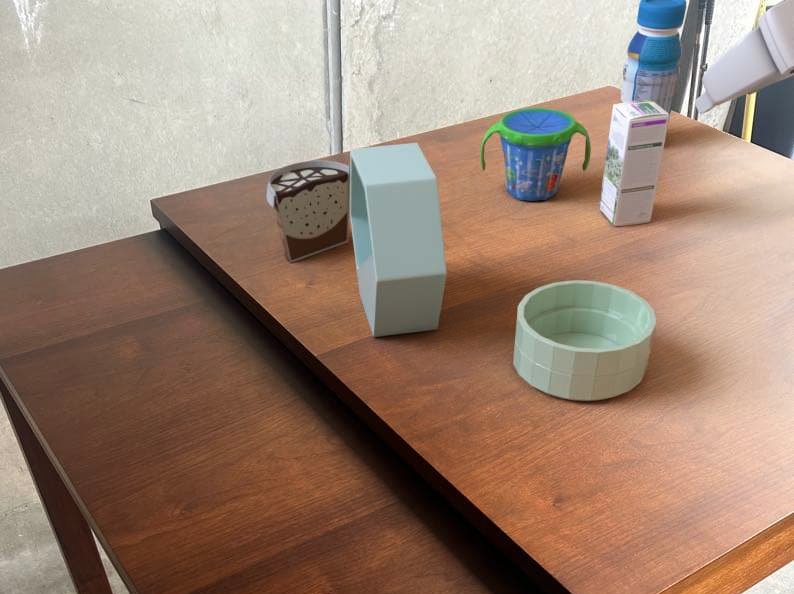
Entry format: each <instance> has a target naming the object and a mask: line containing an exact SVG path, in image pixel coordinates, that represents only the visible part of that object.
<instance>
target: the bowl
mask: <svg viewBox="0 0 794 594" xmlns="http://www.w3.org/2000/svg"><path fill="white" fill-rule="evenodd" d="M656 328H657V317H656V311H655V310H654V309H653V307H652V306H651V305H650V303H649V302H648V301H647V300H645V299H644V298H643V297H642V296H640V295H638V294H637V293H635V292H633V291H632V290H628V289H627V288H623V287H622V286H619V285H616V284H611V283H606V282H601V281H596V280H579V279H572V280H565V281H563V280H562V281H555V282H551V283H548V284H546V285H542V286H539V287H536V288H534V289H533V290H532V291H530V292H528V293H527V294H525V295H524V296H523V298H522V299H521V301H520V302H519V304H518V305H517V311H516V322H515V333H514V344H513V357H512V358H513V359H512V363H513V366H514V368H515V370H516V372H517V373H518V375H519V377H520V378H522V379H523V380H524V381H525V382H526V383H527V384H529V385H530V386H531V387H533V388H535V389H537V390H539V391H540V392H543V393H545V394H547V395H550V396H552V397H556V398H560V399H563V400H568V401H576V402H577V401H579V402H593V401H595V402H596V401H602V400H606V399H611V398H614V397H618V396H620V395H623V394H625V393H628V392H630V391H631V390H633V389H634V388H635V387H637V386H638V385H639V384H640V383H641V382H643V379H644V376H645V374H646V373H647V368H648V365H649V361H650V360H649V359H650V355H651V350H652V347H653V342H654V338H655V337H654V336H655V332H656Z"/></svg>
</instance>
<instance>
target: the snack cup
mask: <svg viewBox="0 0 794 594" xmlns="http://www.w3.org/2000/svg"><path fill="white" fill-rule="evenodd" d="M495 133H498V134H499V136H500V143H501V149H502V152H503V160H504V161H503V162H504V163H503V164H504V175H505V187H506V191H507V192H508V193H509V194H510V196H511V197H514V198H515V199H518V200H520V201H527V202H536V201H541V200H542V201H547V200H548V199H549V198H552V197H553V196H554V195H555V194H556V193H557V192H558V190H559V187H560V183H561V179H562V176H563V171H564V169H565V164H566V160H567V156H568V152H569V146H570V144H571V142H572V139H573V136H574V135H575V134H577V133H578V134H581V135H582V136H584V137H585V149H584V161H583V163H582V166H581V167H582V171H583V172H585V171H587V169H588V167H589V164H590V160H591V154H592V147H591V146H592V145H591V140H590V136H589V134H588V131H587V129H586V128H585V127H584V126H583V125H582V124H581V123H579V122H578V121H576V119H575V118H574V117H573V116H572V115H571V114H570V113H568V112H565V111H562V110H558V109H554V108H548V107H530V108H529V107H528V108H522V109H517V110H512V111H511V112H508V113H506V114H504V115H503V116H502V117H501V118H500V120H499V121H498V122H496V123H494V124H493V125H491V126H490V127H489V128H488V130H487V131H486V132H485V134H484V136H483V138H482V141H481V145H480V166H481V169H482V171H485V170H486V160H485V145H486V143H487V141H488V140H489V138H490V137H492V135H493V134H495Z"/></svg>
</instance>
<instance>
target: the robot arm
mask: <svg viewBox="0 0 794 594" xmlns="http://www.w3.org/2000/svg"><path fill="white" fill-rule="evenodd" d="M757 24H758V26H756V27H754V28H753V29H752V30H750V31H749V32H747V34H745V35H744V36H743V37H742V38H740V39H739V40H738V41H737V42H735V44H733V45H732V46H731V47H730V48H729V49H728V50H726V52H725V53H723V55H721V56H720V57H719V58H718V59H716V61H714V63H713V64H711V65H710V66H709V68H707V69H706V70H705V72H704V74H703V76H702V77H701V82H702V85H703V87H704V89H705V91H704V93H702V94H701V95H700V96H698V97H697V98H696V99H695V101H694V106H695V108H696V110H697V112H698V114H701V115H702V114H705V113H708V112H710V111H712V110H713V109H714V108H715V107H717V106H721V105H723V104H725V103H727V102H730V101H732V100H735V99H737V98H740V97H743V96H744V95H753V94H755V93H758V92H759V91H761V90H762V89H763V88H765V87H768V86H770V85H773V84H775V83H778V82H780V81H783V80H785V79H788V78H791V77H793V76H794V0H781V1H779V2H778V3H776V4H775V5H773V6H771V7H769V9H767V10H766V11H765V12H763V13H762V14H761V15H760V16H759V17H758V18H757Z"/></svg>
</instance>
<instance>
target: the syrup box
mask: <svg viewBox="0 0 794 594" xmlns="http://www.w3.org/2000/svg"><path fill="white" fill-rule="evenodd" d="M668 121H669V122H670V118H669V114H668V113H667V112H666V111H665V110H663V109H662V108H661V107H660V106H658V105H657V104H656V103H655V102H653V101H652V100H635V101H628V102H623V103H620V102H619V103H613V105H612V112H611V117H610V125H609V133H608V139H607V147H606V154H605V162H604V168H603V169H604V170H603V174H602V175H603V176H602V184H601V190H600V198H599V203H598V204H599V205H598V211H599V213H601V214H602V215H603V216H604V218H605V219H606V220H607V221H608V222H609V223H610V224H611V226H613V227H625V226H633V225H640V224H641V225H642V224H647V223H650V222H651V220H652V216H653V215H652V214H653V209H654V204H655V198H656V193H657V187H658V183H659V177H660V171H661V165H662V159H663V154H664V147H665V143H666V139H667V135H666V132H667V133H668V128H669V123H668ZM667 127H668V128H667ZM665 138H666V139H665Z"/></svg>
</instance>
